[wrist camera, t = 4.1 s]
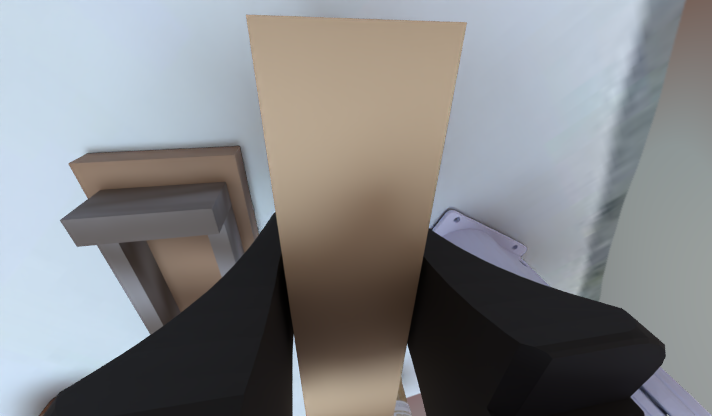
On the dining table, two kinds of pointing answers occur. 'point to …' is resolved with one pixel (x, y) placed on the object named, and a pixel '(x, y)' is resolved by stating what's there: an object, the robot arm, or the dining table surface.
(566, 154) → the dining table surface
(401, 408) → the sprinkles bottle
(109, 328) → the dining table surface
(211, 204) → the hinge base
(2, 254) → the dining table surface
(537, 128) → the dining table surface
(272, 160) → the door panel
